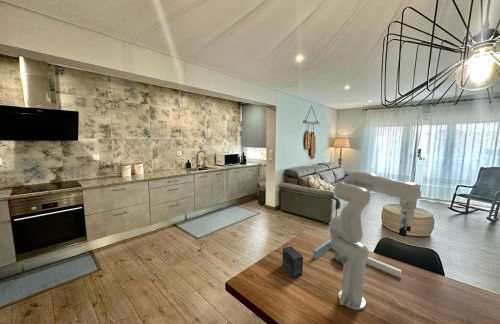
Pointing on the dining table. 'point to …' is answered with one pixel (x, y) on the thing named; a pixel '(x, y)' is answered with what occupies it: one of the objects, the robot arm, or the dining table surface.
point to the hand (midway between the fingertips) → (404, 233)
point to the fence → (370, 261)
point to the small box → (292, 261)
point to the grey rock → (340, 257)
